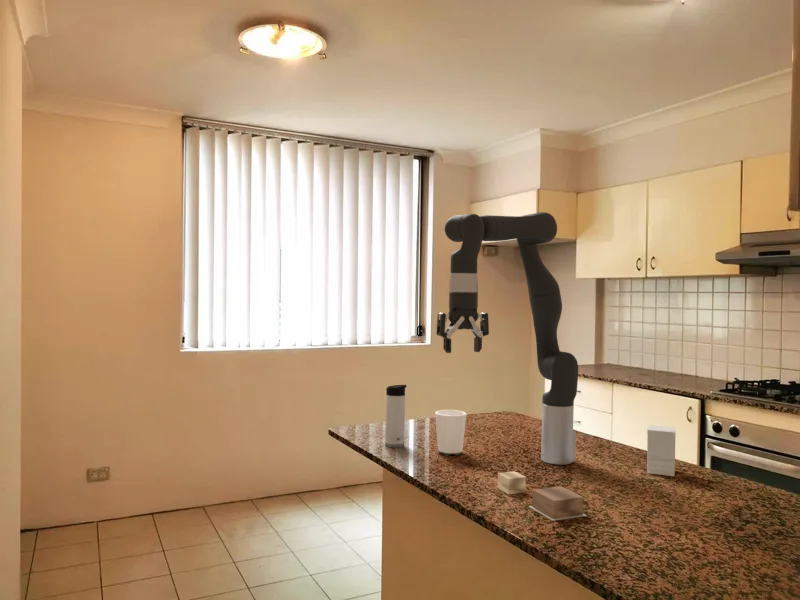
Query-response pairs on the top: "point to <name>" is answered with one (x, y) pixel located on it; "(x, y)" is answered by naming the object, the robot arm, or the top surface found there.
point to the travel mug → (395, 416)
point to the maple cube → (511, 482)
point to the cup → (450, 431)
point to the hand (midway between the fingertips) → (462, 352)
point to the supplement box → (661, 450)
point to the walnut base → (557, 502)
